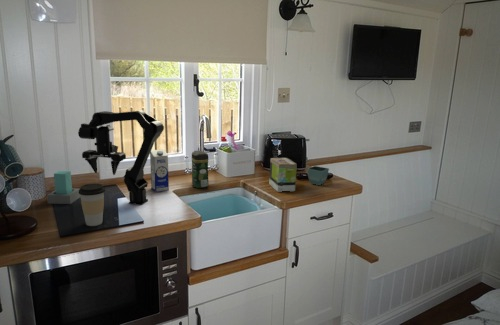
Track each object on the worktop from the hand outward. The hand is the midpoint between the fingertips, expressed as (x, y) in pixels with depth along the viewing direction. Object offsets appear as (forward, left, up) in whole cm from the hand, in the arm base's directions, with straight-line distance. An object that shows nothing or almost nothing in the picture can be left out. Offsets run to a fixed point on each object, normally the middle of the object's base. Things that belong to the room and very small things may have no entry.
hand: (105, 173), depth 170 cm
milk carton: (-17, -20, -12) cm, 29 cm away
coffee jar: (-34, -32, -12) cm, 48 cm away
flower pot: (-94, -54, -12) cm, 109 cm away
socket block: (+17, +7, -12) cm, 22 cm away
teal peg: (+17, +7, -12) cm, 22 cm away
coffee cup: (-12, +26, -12) cm, 31 cm away
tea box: (-76, -42, -12) cm, 88 cm away
